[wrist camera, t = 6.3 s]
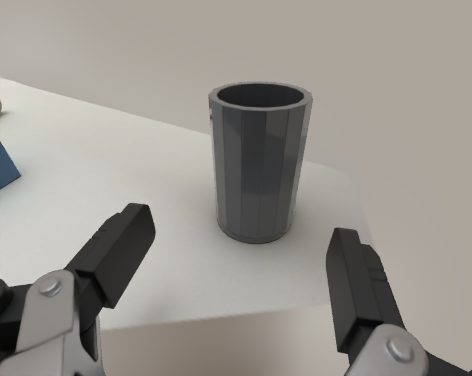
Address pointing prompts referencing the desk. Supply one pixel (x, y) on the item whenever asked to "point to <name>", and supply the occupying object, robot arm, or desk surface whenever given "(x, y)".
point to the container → (7, 168)
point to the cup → (257, 156)
